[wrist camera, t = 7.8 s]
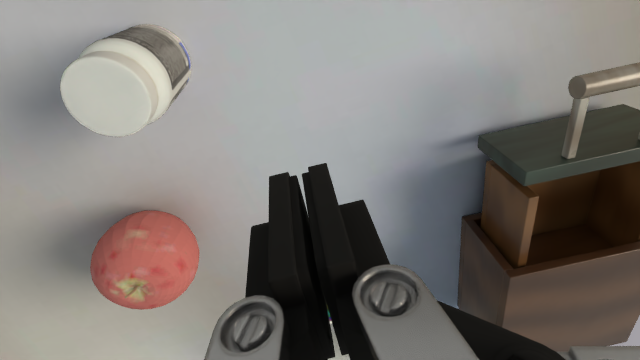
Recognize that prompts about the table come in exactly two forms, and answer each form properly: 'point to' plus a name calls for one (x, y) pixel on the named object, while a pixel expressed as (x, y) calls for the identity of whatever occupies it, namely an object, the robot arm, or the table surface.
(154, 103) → the pill bottle
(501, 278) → the cabinet
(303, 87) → the table surface
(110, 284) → the apple
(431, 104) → the table surface
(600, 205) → the drawer
